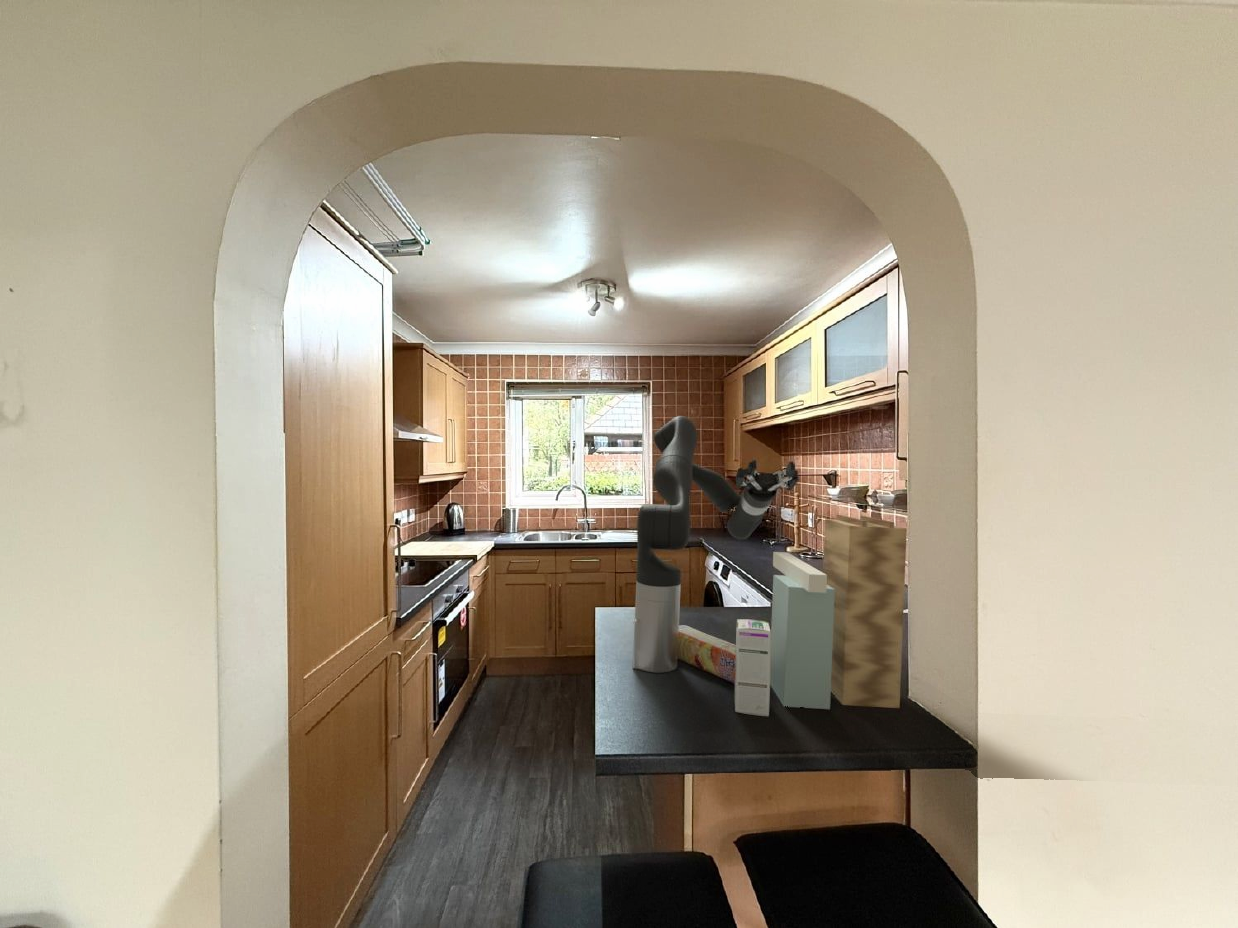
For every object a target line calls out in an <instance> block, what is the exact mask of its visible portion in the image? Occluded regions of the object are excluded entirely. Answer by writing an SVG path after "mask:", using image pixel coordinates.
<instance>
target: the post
mask: <svg viewBox="0 0 1238 928" xmlns="http://www.w3.org/2000/svg"><path fill="white" fill-rule="evenodd" d="M772 581H773V582H772V599H771V600H772V601H771V602H772V603H771V628H770V631H771V648H770V688H772V690H773V692H774V693H775V695H776V696H777V698H778V700H779V701H780V703H781V704H782V706H783V707H785V706H786V707H785V708H800V707H804V708H803V709H805V708H806V709H819V710H820V709H821V710H822V709H823V710H830V709H831V696H832V695H831V694H832V692H831V670H832V646H833V621H834V596H835V589H834V588H832V587H830V586H829V585H827V589H826V593H819V592H808V591H806V590H805V589H804V588H802V587H801V586H800V585H798V584H797V583H796V582H794V581H793V580H791V579H790V578H789V577H787V576H786V575H785V574H783V575H780V574H773V579H772ZM787 706H788V707H787Z"/></svg>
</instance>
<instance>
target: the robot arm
mask: <svg viewBox="0 0 1238 928" xmlns="http://www.w3.org/2000/svg"><path fill="white" fill-rule="evenodd" d="M698 434H699V433H698V431H697V428H696V425H695V424H694V422H693V421H692V420H691V419H690V418H688V417H687V416H684V415H678V416H675V417H674V418H672V419H671V420H669V421H668V422H667V423H665V424H664V425H663V426H661V427H660V428H658V430H656V431H655V433H654V435H653V441H654V444H655V446H656V447H657V449H658V450H659V451H660V453H661V454H660V456H659V457H658V458H657V461H656V463H655V468H654V471H653V472H654V473H653V479H652V481H653V486H654V488H655V490H656V492H657V494H658V495H659V496H660V497H661V499H662V500H664V501H665V502H666V503H667V504H657V503H655V504H652V503H645V504H643V505H641V506H640V508H639V510H638V514H637V522H636V532H637V533H636V536H637V537H636V538H637V540H636V541H637V559H636V560H637V562H636V582H635V583H636V584H635V609H634V625H633V648H632V669H638V670H641V671H643V672H644V671H645V672H648V673H649V672H650V673H669V672H673V671H675V670H676V669H677V667H678V636H679V626H680V610H681V609H680V607H681V606H680V605H681V581H682V572H681V570H680V568H678V567H677V566H675V565H673V564H670V563H668V562H666V561H664V560H662V559H661V558H659V557H658V556H657V555H656V554H655V552H654V549H655V550H666V551H679V550H683V549H684V548H686V546H687V544H689V543H688V542H689V540H690V535H691V508H690V507H691V504H690V502H691V501H690V500H691V491H692V490H691V489H692V482H693V483H694V484H695V485H696V486H697V487H698V488H700V490H701V491H702V492H703V493H704V494H705V496H706V497H707V498H708V499H709V500H710V502H711V503H712V504H713V505H714V506H715V508H716V509H717V510H718V511H720V512H721V513H726V512H727V513H728V511H731V510H732V509H734V508H736V510H735V511H733V513H732V515H731V516H730V517H729V520H728V521H727V530H728V533H729V534H730V535H731V536H732V537H733V538H734V539H736V540H746V539H748V538H749V537H750V536H751V535H752V534H753V532H754V531H755V530H756V529H757V527H759V525H760V524H761V523H762V520H763V517H764V514H765V512H766V511H767V510H768V509H769V507H770V506H771V504H772V502H773V500H774V498H775V497H776V495H777V493H778V490H781V488H786V490H787V491H789V492H790V491H792V490H793V489H794V488H795V486H796V485H797V484H798V482H799V481H800V478H799V471H798V470H797V469H796V464H795V463H794V461H789V462H788V463H787V466H786V468H785V469H784V470H782V471H781V470H777V471H775V472H773V473H765V472H760V473H759V471H757V460H756V459H752V461H750V462H749V463H748V464H747V467H746V468H744V469H743V468H742V467H739V468H738V469H737V472H736V474H735V475H736V476H735V479H734V480H735V481H734V482H735V488H736V489H741V487H744V488H743V491H742V494H741V495H740V494H739V493H738V492H737V491H736V490H735V489H734V488H733V486H731V484H730V483H729V482H728V481H727V479H726V478H725V477H724V476H722V475H721V474H720V473H718V472H716V471H715V470H711V469H709V468H706V467H703V466H700V464H699V465H698V464H696V463H694V455H695V451H696V447H697V445H698V439H699V435H698ZM785 475H786V476H785ZM745 478H746V480H745Z"/></svg>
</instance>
